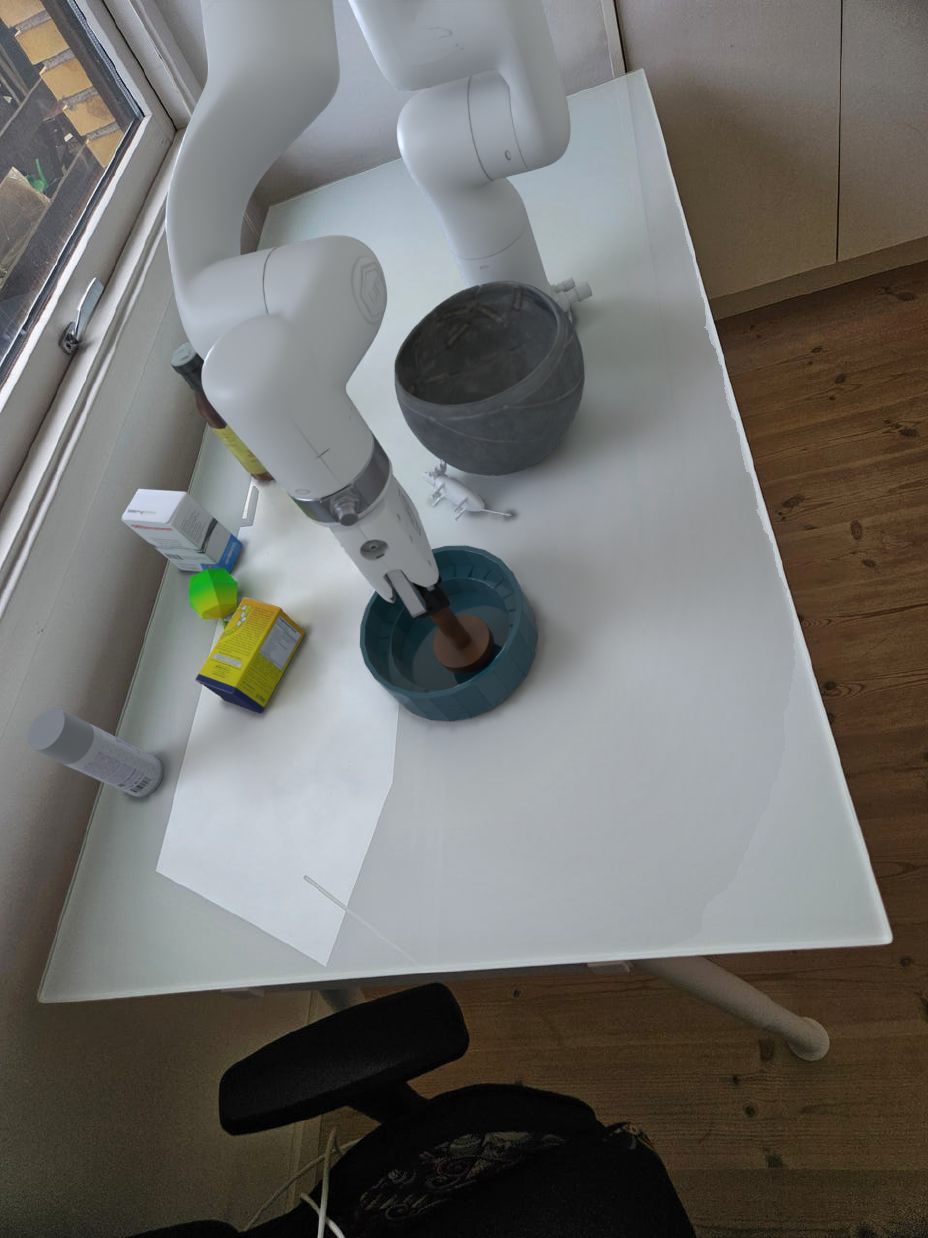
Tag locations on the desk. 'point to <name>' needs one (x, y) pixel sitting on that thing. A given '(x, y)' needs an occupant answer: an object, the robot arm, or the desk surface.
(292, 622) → the supplement box
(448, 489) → the white plastic figurine
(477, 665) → the wooden potato masher
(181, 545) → the ink box
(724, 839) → the desk surface
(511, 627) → the mixing bowl
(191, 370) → the sauce bottle
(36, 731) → the container
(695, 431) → the desk surface
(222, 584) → the green faceted rounded lump
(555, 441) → the bowl
